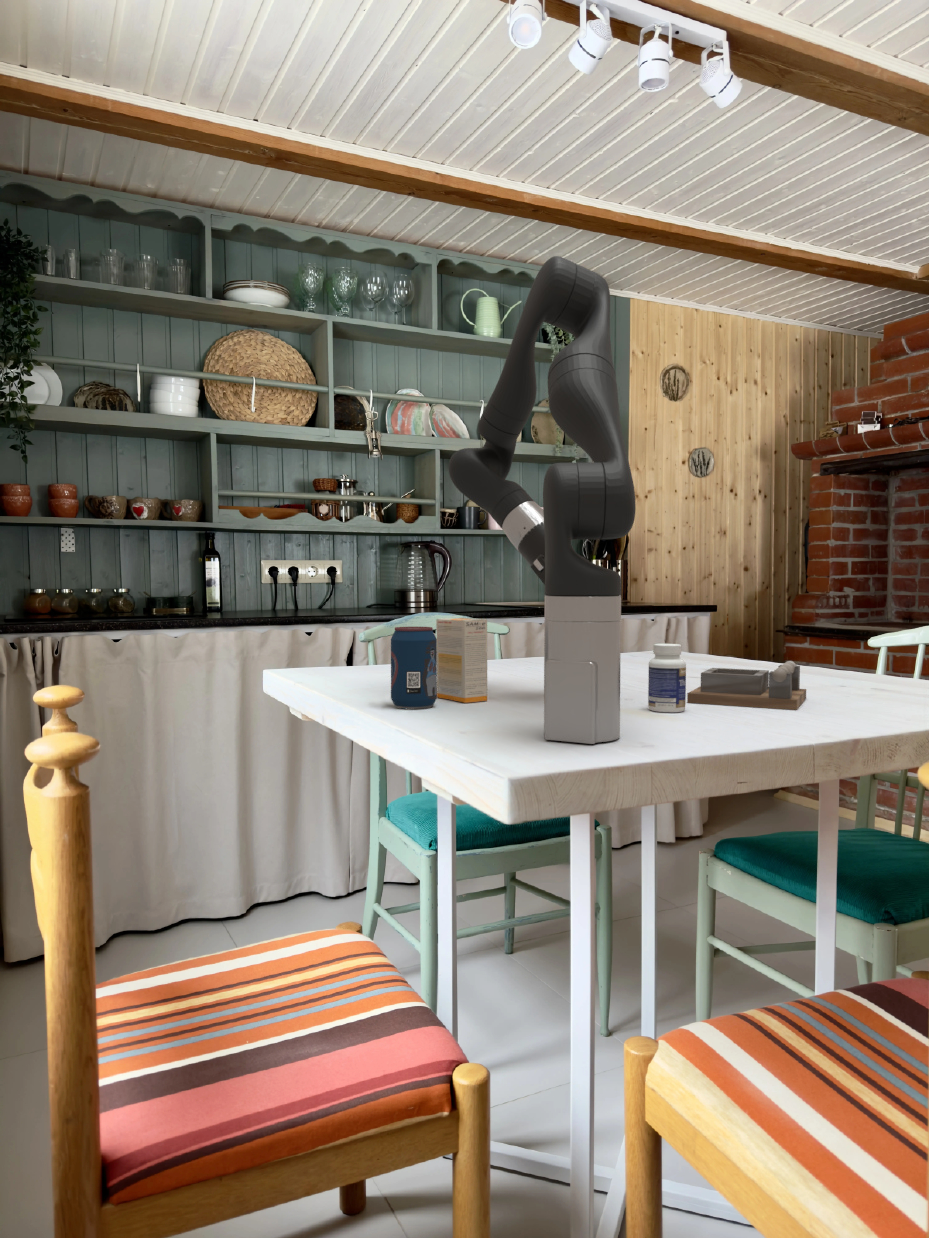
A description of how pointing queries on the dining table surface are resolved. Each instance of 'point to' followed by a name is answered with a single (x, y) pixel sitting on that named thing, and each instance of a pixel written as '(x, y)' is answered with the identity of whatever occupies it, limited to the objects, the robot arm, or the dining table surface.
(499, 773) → the dining table surface
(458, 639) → the supplement box
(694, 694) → the block
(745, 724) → the dining table surface
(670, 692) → the pill bottle
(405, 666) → the soda can
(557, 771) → the dining table surface
